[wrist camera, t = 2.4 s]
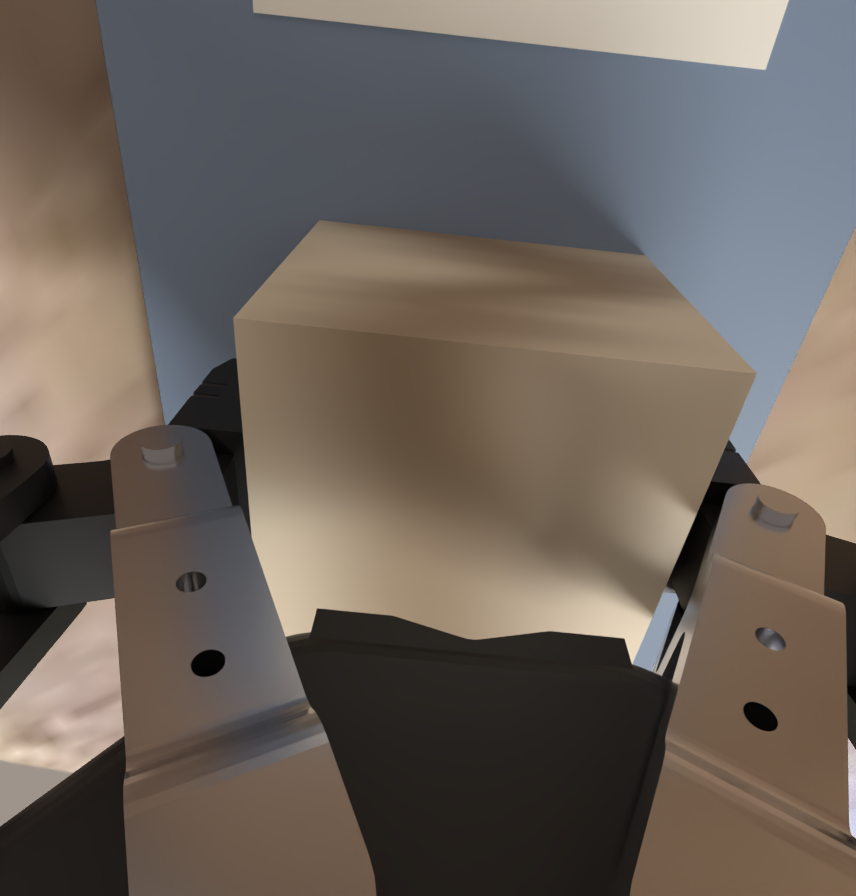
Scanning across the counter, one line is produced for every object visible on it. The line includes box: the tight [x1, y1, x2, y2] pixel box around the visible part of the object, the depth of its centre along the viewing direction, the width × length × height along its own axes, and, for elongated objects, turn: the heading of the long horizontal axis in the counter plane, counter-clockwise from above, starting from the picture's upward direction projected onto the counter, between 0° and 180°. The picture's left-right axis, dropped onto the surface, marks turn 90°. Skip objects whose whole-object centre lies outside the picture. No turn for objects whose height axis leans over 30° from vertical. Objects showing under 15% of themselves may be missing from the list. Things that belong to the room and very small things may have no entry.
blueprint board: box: [95, 0, 856, 671], centre depth 11 cm, size 13×26×1 cm, turn 175°
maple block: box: [233, 220, 757, 664], centre depth 11 cm, size 6×6×5 cm
